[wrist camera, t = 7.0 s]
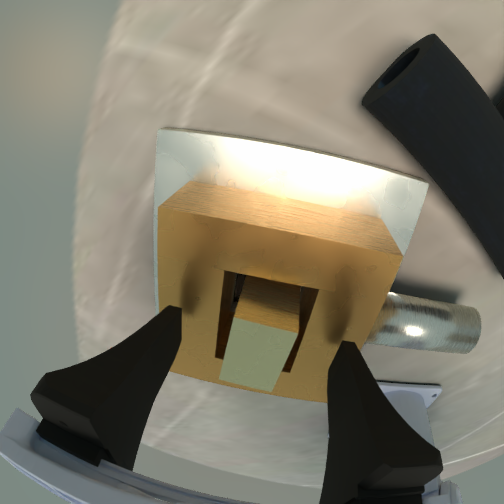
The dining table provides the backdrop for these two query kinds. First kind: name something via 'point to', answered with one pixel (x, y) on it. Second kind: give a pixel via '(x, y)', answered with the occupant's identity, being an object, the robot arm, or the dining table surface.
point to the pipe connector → (448, 133)
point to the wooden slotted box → (290, 252)
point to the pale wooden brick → (261, 333)
